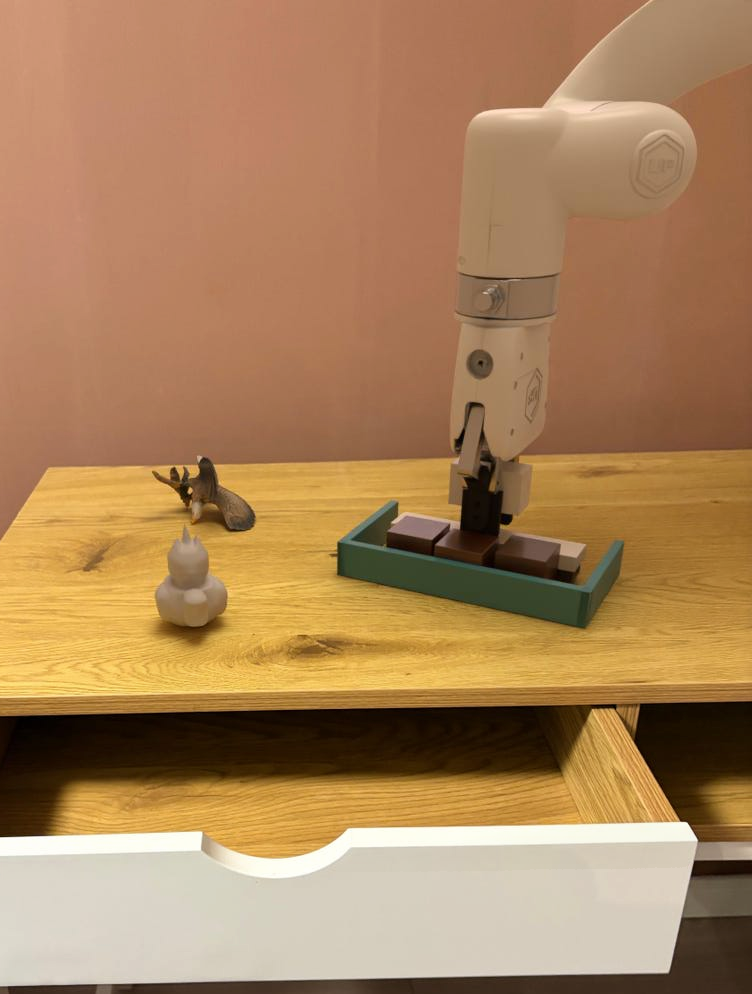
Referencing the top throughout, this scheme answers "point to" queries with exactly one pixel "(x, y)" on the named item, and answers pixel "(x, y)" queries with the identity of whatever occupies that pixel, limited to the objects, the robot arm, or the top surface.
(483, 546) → the block
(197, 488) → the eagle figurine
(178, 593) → the grey rounded lumpy piece
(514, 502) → the brush
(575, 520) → the top surface
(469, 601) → the corral
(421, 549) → the block
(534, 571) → the block
